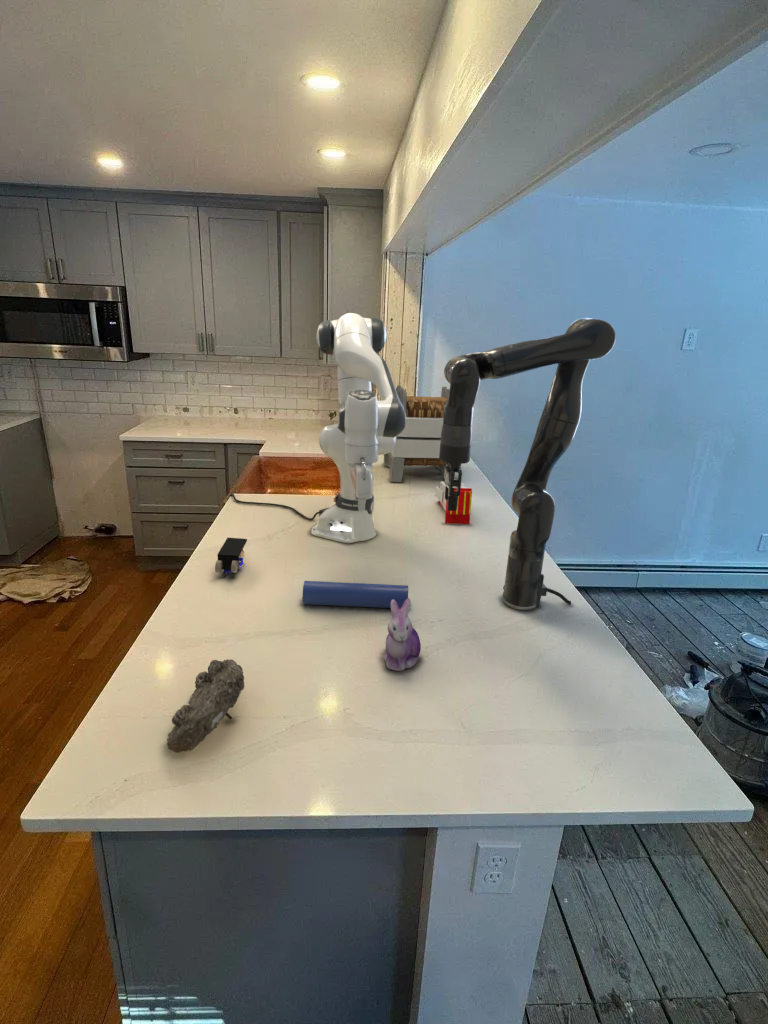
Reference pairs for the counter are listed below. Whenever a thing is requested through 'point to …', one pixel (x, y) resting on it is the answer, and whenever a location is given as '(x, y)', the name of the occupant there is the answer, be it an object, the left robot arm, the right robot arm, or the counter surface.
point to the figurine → (401, 639)
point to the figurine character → (230, 556)
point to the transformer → (418, 434)
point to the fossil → (206, 705)
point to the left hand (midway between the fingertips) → (359, 504)
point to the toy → (462, 505)
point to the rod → (353, 594)
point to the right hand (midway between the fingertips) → (450, 504)
